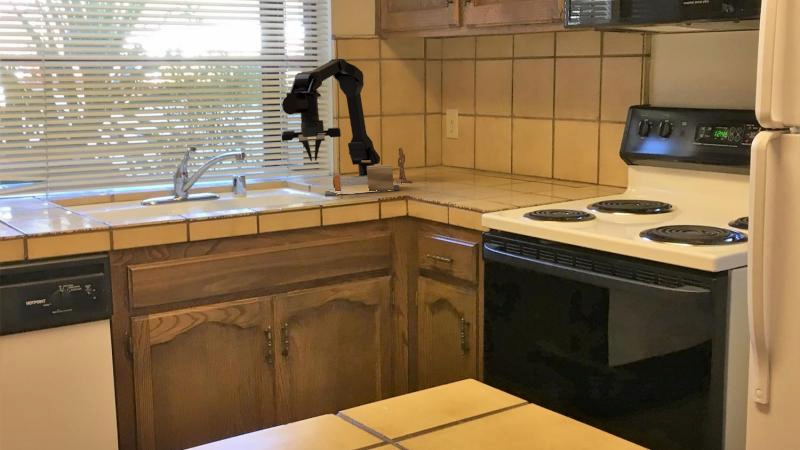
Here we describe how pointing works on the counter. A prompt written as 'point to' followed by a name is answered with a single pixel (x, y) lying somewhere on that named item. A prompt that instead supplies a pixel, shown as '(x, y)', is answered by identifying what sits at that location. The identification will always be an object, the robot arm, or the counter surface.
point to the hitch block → (380, 177)
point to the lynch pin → (348, 181)
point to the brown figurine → (402, 168)
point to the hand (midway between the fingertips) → (313, 160)
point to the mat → (396, 187)
